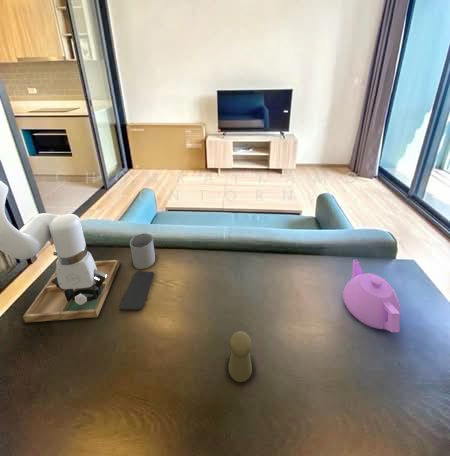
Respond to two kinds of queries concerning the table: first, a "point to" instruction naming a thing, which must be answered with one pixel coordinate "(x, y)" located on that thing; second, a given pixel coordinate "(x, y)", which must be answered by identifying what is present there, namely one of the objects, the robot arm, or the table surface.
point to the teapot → (372, 300)
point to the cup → (142, 250)
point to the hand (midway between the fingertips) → (84, 296)
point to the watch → (82, 296)
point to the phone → (137, 291)
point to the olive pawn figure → (240, 357)
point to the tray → (61, 309)
